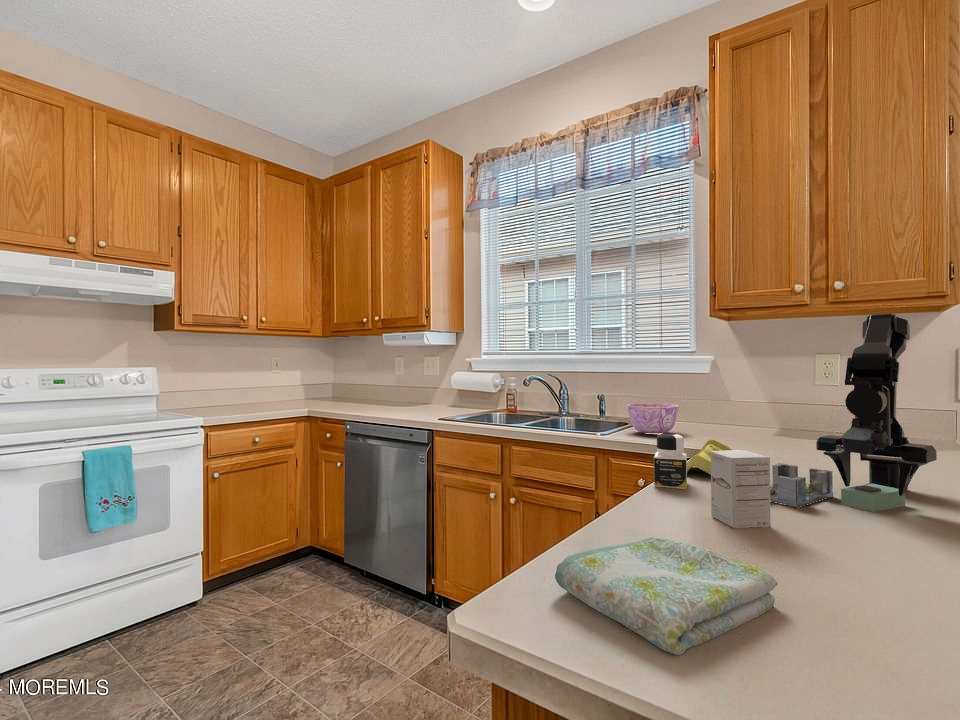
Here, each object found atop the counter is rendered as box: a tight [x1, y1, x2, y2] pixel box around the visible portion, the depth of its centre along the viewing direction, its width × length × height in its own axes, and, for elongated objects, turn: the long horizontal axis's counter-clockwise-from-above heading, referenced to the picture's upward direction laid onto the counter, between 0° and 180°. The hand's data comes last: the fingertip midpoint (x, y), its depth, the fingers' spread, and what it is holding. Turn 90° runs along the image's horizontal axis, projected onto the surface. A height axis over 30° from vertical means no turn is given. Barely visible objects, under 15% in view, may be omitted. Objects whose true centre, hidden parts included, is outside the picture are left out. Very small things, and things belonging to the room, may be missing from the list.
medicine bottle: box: [653, 433, 688, 490], centre depth 124 cm, size 7×7×12 cm
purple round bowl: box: [626, 402, 680, 434], centre depth 209 cm, size 20×20×12 cm
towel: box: [554, 537, 779, 656], centre depth 65 cm, size 18×21×5 cm
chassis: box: [770, 462, 834, 508], centre depth 112 cm, size 15×11×6 cm
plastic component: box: [687, 438, 734, 476], centre depth 138 cm, size 20×7×10 cm
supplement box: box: [710, 449, 772, 529], centre depth 95 cm, size 7×7×13 cm
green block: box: [840, 483, 906, 513], centre depth 105 cm, size 10×6×4 cm, turn 112°
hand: (873, 490), depth 104 cm, fingers open, 9 cm apart
